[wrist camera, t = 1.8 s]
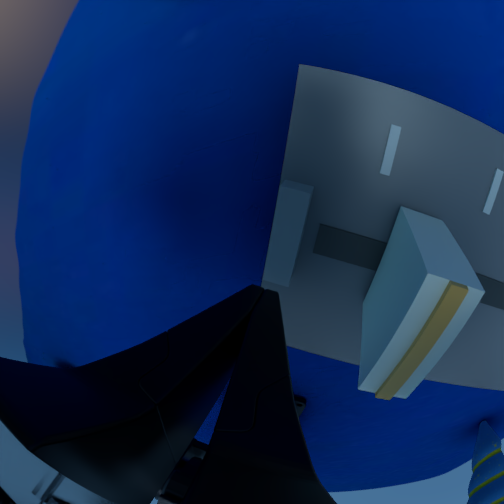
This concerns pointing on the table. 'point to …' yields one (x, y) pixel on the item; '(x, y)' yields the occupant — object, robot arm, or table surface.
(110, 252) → the table surface
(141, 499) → the robot arm
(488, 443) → the ornament
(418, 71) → the table surface
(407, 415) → the table surface
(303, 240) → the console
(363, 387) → the fader tab
